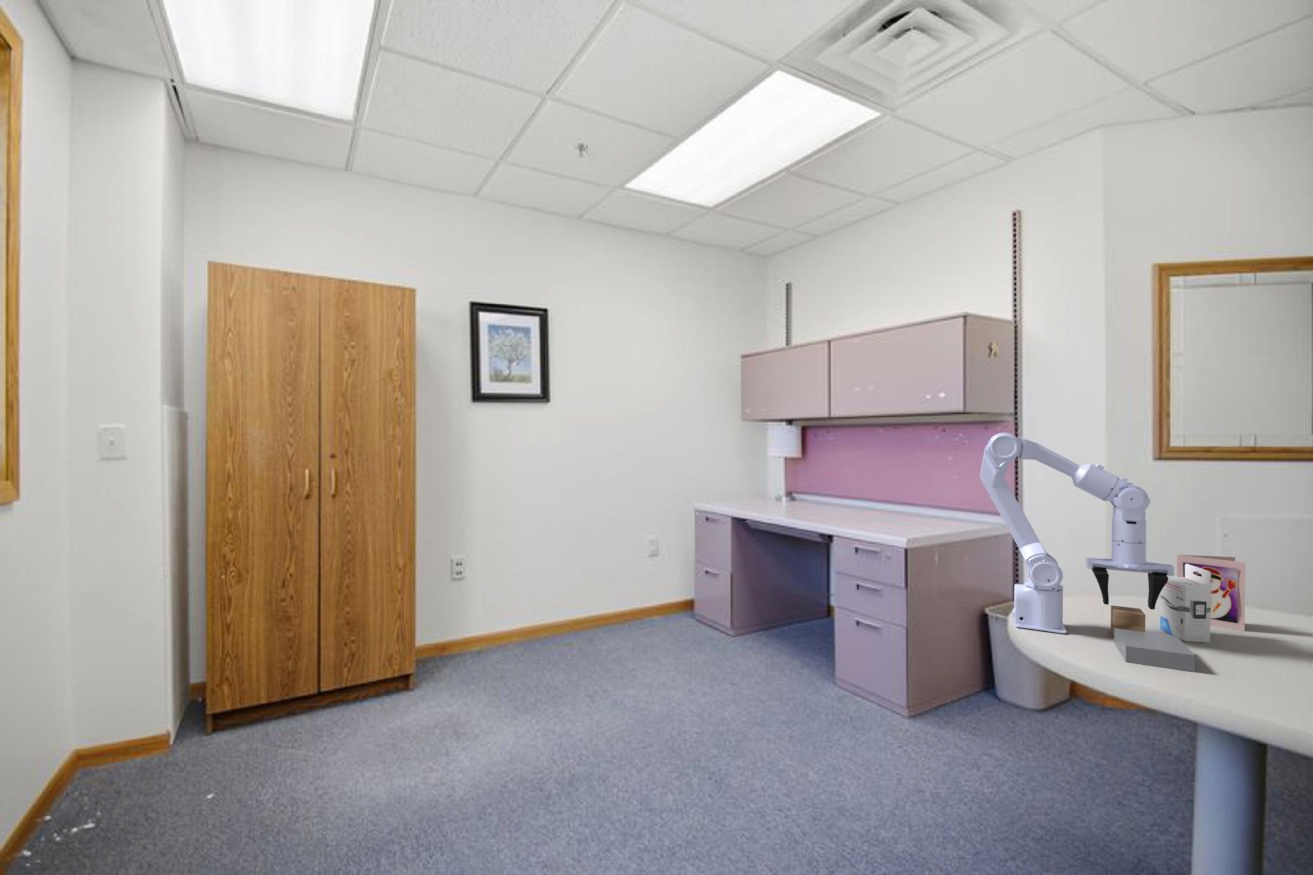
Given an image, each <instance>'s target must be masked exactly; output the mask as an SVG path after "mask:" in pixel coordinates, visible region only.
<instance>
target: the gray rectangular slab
mask: <svg viewBox="0 0 1313 875" xmlns="http://www.w3.org/2000/svg"><path fill="white" fill-rule="evenodd" d="M1113 643H1114V644H1115V646H1116V648H1117V650H1118V651H1119V653H1120V655H1121V657H1122V658H1123V660H1124V662H1125V663H1131V664H1137V665H1144V666H1153V667H1157V666H1159V667H1158V668H1165V669H1172V670H1178V671H1179V670H1180V671H1185V672H1192V673H1195V672H1196V655H1195V654H1194V653H1193V651H1192V650H1190V648H1189V647H1188V646H1187V645H1186V644H1185V643H1184V641H1183V640H1182V639H1180V638H1178V637H1177V636H1174V635H1172V634H1163V633H1155V632H1149V631H1148V632H1147V631H1145V632H1141V631H1133V630H1125V629H1117V628H1114V637H1113Z"/></svg>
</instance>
